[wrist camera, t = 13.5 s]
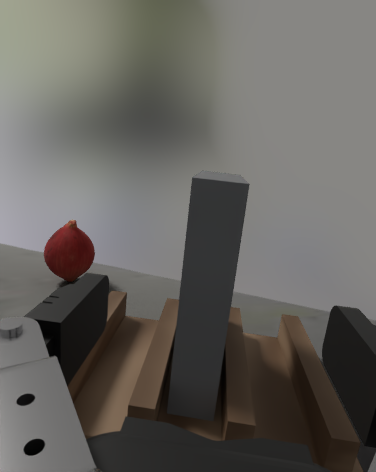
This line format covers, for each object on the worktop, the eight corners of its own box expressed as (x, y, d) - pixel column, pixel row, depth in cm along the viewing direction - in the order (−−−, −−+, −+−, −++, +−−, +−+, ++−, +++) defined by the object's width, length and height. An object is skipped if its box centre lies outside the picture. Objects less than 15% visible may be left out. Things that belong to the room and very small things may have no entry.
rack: (299, 346, 32) (306, 314, 31) (364, 497, 18) (380, 445, 17) (103, 317, 34) (104, 286, 33) (16, 437, 19) (15, 386, 18)
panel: (215, 343, 29) (240, 174, 26) (213, 421, 21) (249, 184, 17) (183, 338, 30) (202, 170, 26) (166, 413, 21) (192, 177, 17)
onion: (38, 289, 38) (38, 223, 36) (51, 271, 44) (51, 213, 42) (89, 291, 39) (92, 226, 37) (96, 274, 45) (98, 216, 43)
